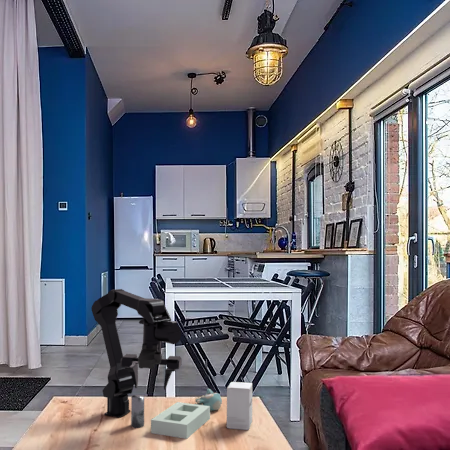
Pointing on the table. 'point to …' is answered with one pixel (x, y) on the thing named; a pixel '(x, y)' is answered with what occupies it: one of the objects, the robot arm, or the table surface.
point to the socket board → (180, 420)
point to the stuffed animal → (210, 400)
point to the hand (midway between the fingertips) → (150, 388)
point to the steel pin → (137, 411)
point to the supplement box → (239, 405)
